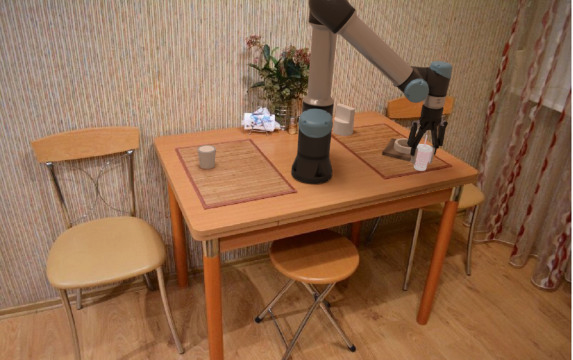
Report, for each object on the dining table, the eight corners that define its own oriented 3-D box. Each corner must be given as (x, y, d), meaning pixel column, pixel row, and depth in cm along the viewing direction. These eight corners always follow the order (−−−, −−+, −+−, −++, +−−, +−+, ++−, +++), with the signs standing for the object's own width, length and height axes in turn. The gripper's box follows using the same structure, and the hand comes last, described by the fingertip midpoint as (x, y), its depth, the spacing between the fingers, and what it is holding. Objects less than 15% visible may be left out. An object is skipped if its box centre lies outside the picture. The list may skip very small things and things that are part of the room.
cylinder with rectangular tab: (328, 131, 203) (331, 105, 197) (341, 126, 208) (344, 101, 202) (343, 137, 197) (346, 111, 191) (356, 132, 203) (360, 107, 197)
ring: (391, 150, 184) (392, 145, 182) (397, 141, 192) (398, 136, 190) (416, 156, 180) (417, 150, 179) (420, 147, 188) (421, 141, 187)
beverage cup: (428, 172, 171) (436, 139, 164) (412, 170, 172) (418, 137, 165) (427, 165, 176) (434, 132, 170) (411, 163, 177) (418, 130, 170)
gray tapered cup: (209, 159, 172) (208, 143, 169) (220, 166, 168) (219, 149, 165) (194, 164, 168) (193, 148, 165) (205, 171, 164) (204, 154, 160)
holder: (382, 155, 183) (382, 151, 182) (391, 141, 196) (391, 138, 195) (421, 164, 177) (422, 160, 177) (428, 149, 190) (429, 145, 189)
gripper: (412, 109, 157) (401, 168, 168) (462, 108, 160) (448, 166, 171) (404, 102, 163) (394, 159, 175) (452, 101, 167) (439, 157, 178)
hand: (421, 162), depth 173 cm, fingers closed on beverage cup, 6 cm apart
